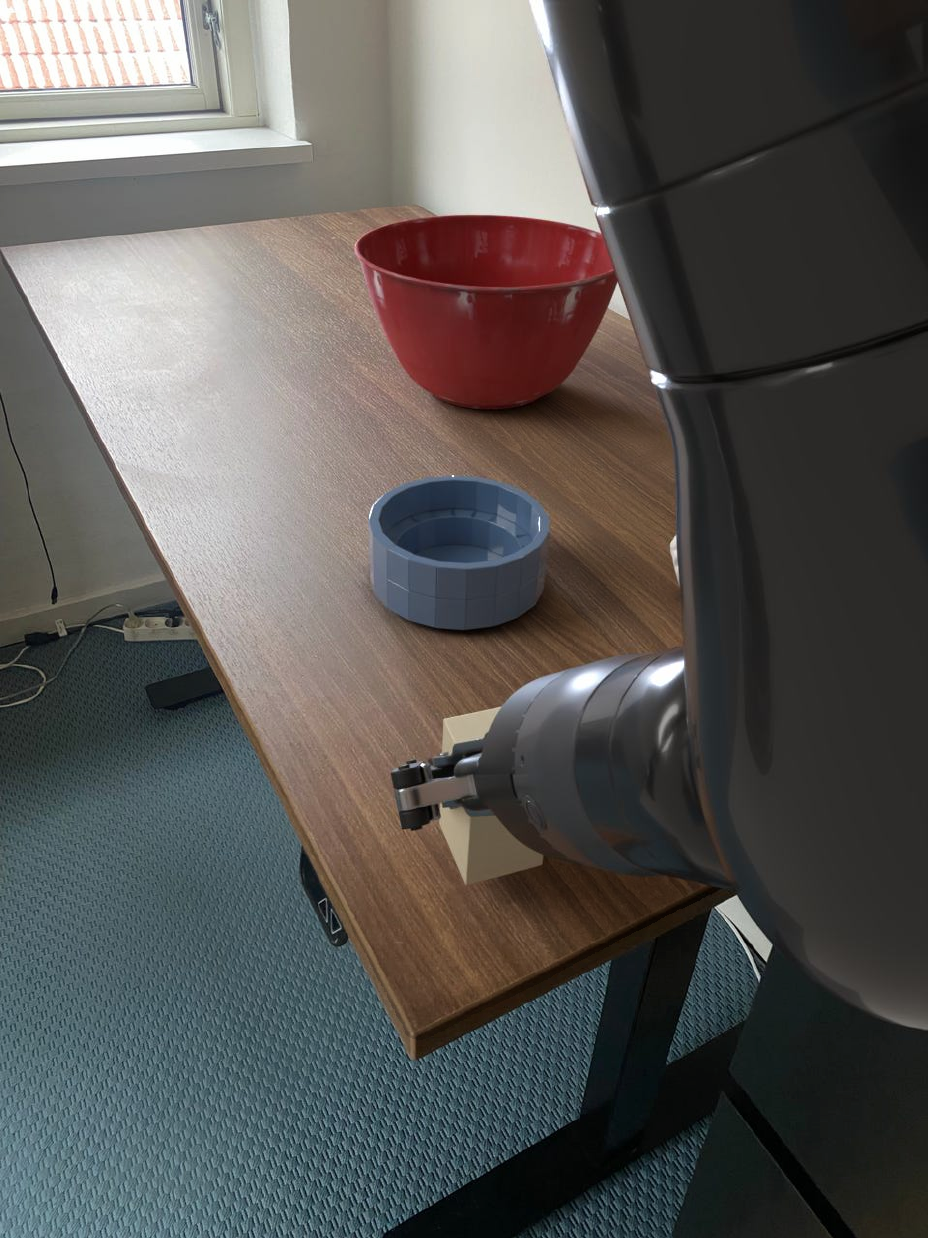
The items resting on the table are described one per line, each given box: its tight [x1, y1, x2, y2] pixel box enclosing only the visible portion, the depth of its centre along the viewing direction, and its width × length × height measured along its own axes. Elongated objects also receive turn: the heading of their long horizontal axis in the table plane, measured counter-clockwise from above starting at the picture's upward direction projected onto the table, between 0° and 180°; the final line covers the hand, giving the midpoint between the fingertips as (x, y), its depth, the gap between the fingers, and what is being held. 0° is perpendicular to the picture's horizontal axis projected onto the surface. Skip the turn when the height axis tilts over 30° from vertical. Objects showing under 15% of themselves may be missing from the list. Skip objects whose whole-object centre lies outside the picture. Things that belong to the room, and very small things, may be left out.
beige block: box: [438, 706, 545, 886], centre depth 48 cm, size 4×4×8 cm
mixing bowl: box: [354, 214, 618, 410], centre depth 101 cm, size 28×28×15 cm
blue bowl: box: [367, 475, 551, 631], centre depth 72 cm, size 14×14×6 cm
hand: (481, 767), depth 50 cm, fingers closed on beige block, 4 cm apart
